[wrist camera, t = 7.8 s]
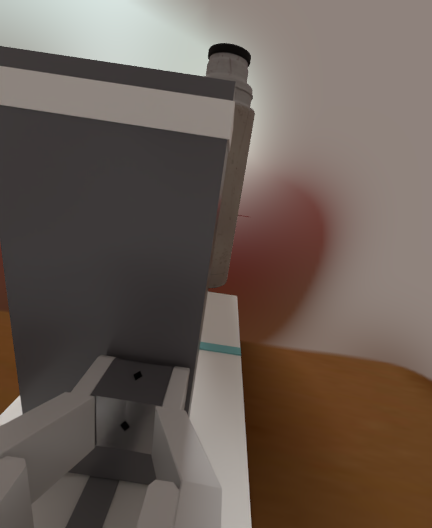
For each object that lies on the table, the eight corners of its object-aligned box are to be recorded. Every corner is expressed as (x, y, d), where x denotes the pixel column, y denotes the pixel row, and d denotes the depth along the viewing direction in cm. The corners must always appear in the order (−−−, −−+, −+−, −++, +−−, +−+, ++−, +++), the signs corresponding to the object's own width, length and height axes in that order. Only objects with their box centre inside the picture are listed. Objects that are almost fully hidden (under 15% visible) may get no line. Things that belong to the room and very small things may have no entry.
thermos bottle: (179, 264, 42) (200, 63, 33) (227, 272, 42) (261, 71, 33) (166, 282, 34) (189, 28, 26) (225, 292, 34) (268, 38, 25)
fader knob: (26, 467, 10) (-30, 40, 6) (72, 402, 13) (58, 88, 9) (178, 491, 10) (237, 80, 6) (189, 421, 13) (235, 114, 9)
